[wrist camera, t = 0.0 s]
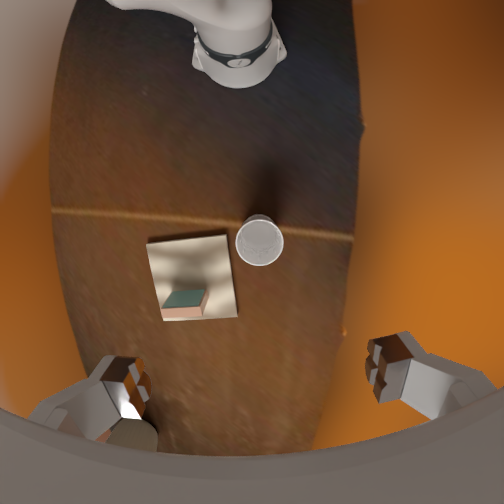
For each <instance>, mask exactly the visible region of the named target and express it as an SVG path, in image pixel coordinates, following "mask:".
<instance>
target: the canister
mask: <svg viewBox="0 0 504 504" xmlns="http://www.w3.org/2000/svg"><path fill="white" fill-rule="evenodd" d="M105 443H107V444H111V445H116V446H122V447H127V448H133V449H139V450H146V451H153V452H156V450H157V443H158V434H157V432H156V430H155V428H154V427H153V426H152V425H150V424H149V423H148V422H146V421H144V420H142V419H135V418H123V419H122V420H121V421H120V422H119V423H118V424H117V426H116V427H115V429H114V430H113V431H112V433H111V435H110V436H109V438H108V439H107V440H106V442H105Z"/></svg>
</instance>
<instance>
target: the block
mask: <svg viewBox="0 0 504 504" xmlns="http://www.w3.org/2000/svg"><path fill="white" fill-rule="evenodd" d="M208 299H209V297H208V291H207V290H205V289H199V290H186V291H172V292H171V293H170V295H169V296H168V298H167V299H166V301H165V303H164V304H163V306H162V307H161V309H160V310H161V313H162V317H163V318H177V317H196V316H202V315H203V313H204V310H205V307H206V304H207V301H208Z"/></svg>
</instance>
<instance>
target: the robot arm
mask: <svg viewBox="0 0 504 504" xmlns="http://www.w3.org/2000/svg"><path fill="white" fill-rule="evenodd" d="M106 1H107V2H109V3H110V4H111V5H113V6H115V7H117V8H120V9H123V10H128V9H150V10H157V11H163V12H167V13H171V14H174V15H177V16H179V17H182V18H184V19H186V20H188V21H190V22H191V23H192V24H193V25H194V31H195V32H196V33H197V36H196V37H195V38H194V43H195V48H194V54H193V60H192V64H193V67H194V68H196V69H198V70H200V71H203V72H205V73H207V74H208V75H209V76H210V77H211V78H212V79H213V80H214V81H215V82H217V83H219V84H221V85H223V86H226V87H231V88H245V87H250V86H253V85H256V84H258V83H260V82H261V81H263V80H264V79H265V78H266V77H267V76H268V75H269V74H270V73H271V72H272V70H273V68H274V67H275V65H276V64H277V63H279V62H280V61H282V60H283V59H284V58H285V57H286V56H287V52H286V49H285V47H284V44H283V42H282V40H281V37H280V35H279V33H278V31H277V28H276V26H275V24H274V22H273V20H272V17H271V13H272V2H271V0H106ZM279 48H280V49H281V50H279ZM197 58H198V59H197ZM367 349H368V352H369V353H370V355H369V356H368V357H367V358H366V363H365V369H366V376H367V379H368V381H369V383H370V384H372V385H374V389H373V392H374V394H375V397H376V399H377V401H378V403H383V402H388V401H392V400H396V399H400V398H401V400H402V401H404V402H405V403H407V404H408V405H410V406H411V407H413V408H414V409H416V410H417V411H419V412H420V413H422V414H423V415H425V416H427V417H428V418H430V419H431V421H428V422H425V423H422V424H419V425H416V426H413V427H411V428H407V429H404V430H401V431H398V432H394V433H391V434H388V435H384V436H380V437H377V438H373V439H369V440H365V441H360V442H356V443H351V444H347V445H341V446H336V447H331V448H326V449H318V450H312V451H304V452H296V453H287V454H275V455H261V456H196V455H181V454H170V453H161V452H153V451H146V450H139V449H133V448H127V447H122V446H116V445H111V444H107V443H102V442H98V441H94V440H95V439H96V438H97V437H99V436H100V435H101V434H103V433H104V432H105V431H106V430H107V429H109V428H110V427H111V426H112V425H113V424H115V423H116V422H117V421H118V420H119V419H121V417H125V418H135V419H141V417H142V415H143V413H144V410H145V408H146V406H145V404H144V402H145V401H147V400H148V399H149V398H150V396H151V393H152V383H151V379H150V377H149V375H148V374H147V373H146V372H144V369H145V364H144V361H143V359H141V358H140V357H125V356H110V355H107V356H104V357H103V359H102V360H101V361H100V363H99V364H98V366H97V367H96V368H95V370H94V371H93V372H92V374H91V375H90V377H89V378H88V379H83V380H82V381H80V382H78V383H76V384H74V385H72V386H70V387H68V388H66V389H64V390H62V391H60V392H58V393H56V394H55V395H52V396H50V397H48V398H46V399H44V400H42V401H40V403H39V404H38V405H37V407H36V408H35V409H34V411H33V412H32V413H31V415H30V416H29V417H28V419H25V418H23V417H20V416H18V415H16V414H13V413H11V412H8V411H6V410H4V409H2V408H0V504H504V386H503V387H501V388H500V389H498V390H497V388H496V387H495V386H494V385H493V384H492V383H491V381H490V380H489V379H488V378H487V377H486V376H485V375H484V373H483V372H482V371H478V370H476V369H473V368H470V367H467V366H465V365H462V364H459V363H456V362H453V361H451V360H448V359H445V358H442V357H439V356H437V355H434V354H432V353H430V354H427V353H426V352H425V351H424V349H423V348H422V347H421V346H420V344H419V343H418V342H417V341H416V340H415V339H414V337H413V336H412V335H411V334H410V332H408V331H404V332H400V333H396V334H394V335H389V336H384V337H380V338H375V339H370V340H369V342H368V347H367Z"/></svg>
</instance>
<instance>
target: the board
mask: <svg viewBox="0 0 504 504" xmlns="http://www.w3.org/2000/svg"><path fill="white" fill-rule="evenodd" d="M146 247H147V252H148V257H149V262H150V266H151V271H152V275H153V280H154V284H155V288H156V293H157V297H158V301H159V305H160V309H161V307H162V306H163V304H164V303H165V301H166V299H167V298H168V296H169V295H170V293H171V292H172V291H186V290H199V289H205V290H207V291H208V297H209V299H208V301H207V304H206V307H205V310H204V313H203V315H202V316H196V317H177V318H163V320H164V321H176V320H196V319H213V318H228V317H237V316H238V312H237V306H236V299H235V292H234V285H233V278H232V271H231V263H230V256H229V249H228V241H227V234H222V235H213V236H204V237H195V238H187V239H178V240H170V241H161V242H153V243H148V244H146Z"/></svg>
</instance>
